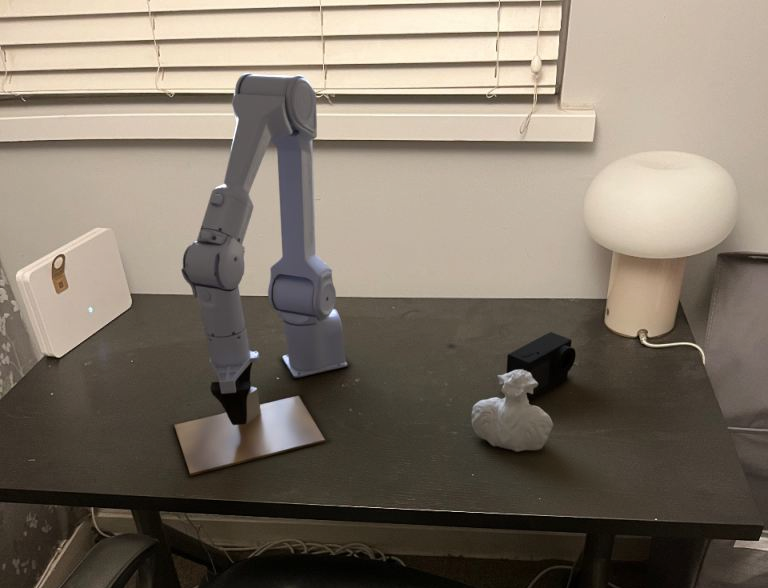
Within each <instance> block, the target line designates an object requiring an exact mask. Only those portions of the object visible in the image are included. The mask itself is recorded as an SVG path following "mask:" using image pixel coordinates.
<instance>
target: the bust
mask: <svg viewBox="0 0 768 588" xmlns="http://www.w3.org/2000/svg"><path fill="white" fill-rule="evenodd" d="M497 378H498V380H499V381H498V384H499V385H502V384H503V386H502V388H501V393H502V394H503V395H504V397H503V398H500V397H495V396H494V397H490V398H488V399H481V400H479V401H478V402H476V403H475V404H474V405H473V406H472V410H471V414H470V415H471V426H472V429H473V432H474V434H475V435H476V436H477V437H479V438H481V439H483V440H484V441H486V442H488V443H489V444H490V445H491V446H493V447H499V448H502V449H506V450H510V451H511V450H512V451H514V452H516V453H517V452H522V451H540V450H541V449H542V448H543V447H544V446H545V444H546V443H547V441H548V439H549V437H550V436H551V431H552V429H553V427H554V423H553V421H552V418H551V417H550V415H549V414H548V413H547V412H546V411H544V410H543V409H542V408H541V407H540V406H537V405H533V404H532V405H531V404H530V400H528V399H527V395H526V393H527V392H528V393H531V394H533V388H535V387H537V386H538V383H537V382H536V381H535V379H534V378H532V375H531V373H530V372H527V371H526V370H525V371H524V370H523V369H522V370H520V369H518V370H513V371H511V372H509V373H507V372H505V373H503V374H498V375H497Z"/></svg>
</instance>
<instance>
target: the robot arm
mask: <svg viewBox="0 0 768 588" xmlns="http://www.w3.org/2000/svg"><path fill="white" fill-rule="evenodd" d="M231 106H232V112H233V115H234V118H235V122H236V125H235V129H234V134H233V139H232V143H231V148H230V152H229V155H228V156H229V157H228V162H227V165H226V169H225V176H224V180H223V184H220V185H219V186H217V187H214V188H213V189H212V191H211V193H210V196H209V200H208V204H207V207H206V210H205V212H204V216H203V219H202V222H201V226H200V228H199V232H198V235H197V239H196V241H194V242H192V244H190V245H188V246H187V247H186V249H185V251H184V253H183V255H182V256H183V257H182V268H181V270H180V271H181V274H182V277H183V278H184V280H185V281H186V283H187V284H188V285H189V286H190V288H191V291H192V295H193V296H194V297H195V298H196V299H197V302H198V306H199V311H200V315H201V316H200V317H201V321H202V326H203V330H204V335H205V339H206V344H207V348H208V353H209V359H208V360H209V365H210V367H211V368H212V370H213V372H214V374H215V376H216V377H217V380H218V381H212V382H211V384H210V392H211V394H212V396H213V397H214V398H215V399H216V400H217V401H218V402H219V403H220V404H221V406H222V407H223V409H224V412H225V413H227V415H228V418H229V420H230V421H231V423H232V425H241V424H246V421H247V396H248V393H249V391H250V387H252V381H251V371H252V366H253V363H257V362H259V360H260V353H259V351H257V350H255V351H254V350H252V349H250V344H249V338H248V332H247V327H246V323H245V322H246V321H245V317H244V311H243V304H242V299H241V292H240V287H239V285H240V284H241V281H242V279H243V276H244V275H245V259H244V258H245V252H246V251H245V246H244V245H243V244H244V241H245V237H246V235H247V230H248V227H249V224H250V221H251V217H252V215H253V210H254V204H253V201H252V199H251V197H250V192H251V189H252V188H253V187H252V186H253V184H254V182H255V179H256V177H257V174H258V171H259V169H260V167H261V164H262V162H263V159H264V157H265V154H266V151H267V149H268V147H269V144H270V143H272V144H273V145H274V146H275V147H276V152H277V173H278V174H277V175H278V194H279V215H280V235H281V252H282V253H281V255H282V256H281V258H279V259H278V260H277V261H276V262H275V263H273V264H272V265H271V266H270V278H269V284H268V288H267V298H268V302H269V305H270V307H271V308H272V309H273V310H274V311H276V312H277V314H278V318H280V319H282V322H283V329H284V335H285V336H284V337H285V343H286V350H287V354H284V355H282V361H283V363H285V366H286V367H287V369H288V371H289V372H290V374H291V375H292V377H293V378H294V379H298V378H302V377H303V378H304V377H307V376H311V375H316V374H320V373H324V372H328V371H333V370H337V369H342V368H346V367H347V366H348V363H347V361H346V360H347V358H346V348H345V347H346V346H345V337H344V336H345V335H344V329H343V323H342V319H341V317H340V314H339V313H338V310H337V309H335V305H336V300H337V293H336V287H335V285H334V281H333V269H332V268H331V267H330V266H329V265H328V264H327V263H325V262H324V260H322V259H321V258H320V257H318V255H317V253H316V223H315V222H316V221H315V219H316V218H315V217H316V216H315V185H314V183H315V182H314V150H313V149H314V147H313V140H315V139H316V138H317V137H318V131H317V128H318V122H317V121H318V117H317V116H318V115H317V92H316V91H315V89H314V88H313V86H312V85H311V83H310V82H309V80H308V79H307V78H306V77H305V76H304V75H302V74H297V75H294V76H293V75H274V74H273V75H271V74H270V75H269V74H253V73H249V72H248V73H247V72H246V73H243V74H241V75H240V76H239V78H238V79H237V81H236V83H235V87H234V92H233V98H232V100H231Z"/></svg>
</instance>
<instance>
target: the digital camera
mask: <svg viewBox="0 0 768 588" xmlns="http://www.w3.org/2000/svg"><path fill="white" fill-rule="evenodd" d="M572 341H573V340H572V339H571V338H568V337H565V336H564V335H563V336H562V335H560V334H557V333H555V332H552V331H550V332H548V333H545V334H544V335H541V336H540V337H538V338H536V339H534V340H532V341H530V342H528V343H526V344H524V345H523V346H521V347H519V348H516V349H515V350H513V351H512V352H510V353H508V354H507V359H506V373H509V372H511V371H513V370H518V369H520V370H522V369H523V370H524V371H525V370H526V371H527V372H530V373H531V375H532V378H534V379H535V381H536V382H537V383H538V386H537V387H535V388H533V394H531V393H528V392H527V393H526V395H527V399H528V400H529V401H531V400H533V399H536V397H538V396H540V395H541V394H543V393H545V392H547V391H549V390H550V389H552V388H554V387H556V386H557V385H559V384H560V383H562V382H563V381H566V380H567V379H568V375H569V371H570V370H571V369H572V367H573V366H574V363H575V362H576V361H575V360H576V356H577V355H576V353H577V352H576V350H575V348H574V347H572Z"/></svg>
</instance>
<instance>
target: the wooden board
mask: <svg viewBox="0 0 768 588" xmlns="http://www.w3.org/2000/svg"><path fill="white" fill-rule="evenodd" d="M260 410H261V413H260V414H259V415H258V416H256V417H255V418H254V419H253V420H251V421H250V422H249V423H248V424H246V425H243V424H241V425H232V423H231V421H230V420H229V418H228V415H227V413H226V412H223V413H219V414H215V415H210V416H205V417H202V418H201V417H200V418H197V419H193V420H188V421H184V422H181V423H180V422H179V423H176V424H174V425H173V426H174V429H175V432H176V436H177V439H178V442H179V444H180V448H181V450H182V454H183V457H184V460H185V463H186V467H187V470H188V472H189V476H190V477H192V476H195V475H199V474H202V473H207V472H211V471H215V470H219V469H223V468H227V467H231V466H234V465H239V464H243V463H246V462H252V461H255V460H258V459H263V458H266V457H270V456H274V455H278V454H282V453H286V452H291V451H295V450H298V449H302V448H307V447H309V446H313V445H318V444H321V443H325V442H326V439H325V438H324V436H323V434H322V432H321V431H320V429H319V428H318V426H317V424H316V422H315V421H314V419H313V417H312V416H311V414H310V412H309V411H308V408H307V407H306V405H305V404H304V402H303V401H302V399H301V397H300V396H299V395H296V396H291V397H286V398H283V399H278V400H274V401H270V402H266V403H265V402H264V403H262V404H260Z"/></svg>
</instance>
